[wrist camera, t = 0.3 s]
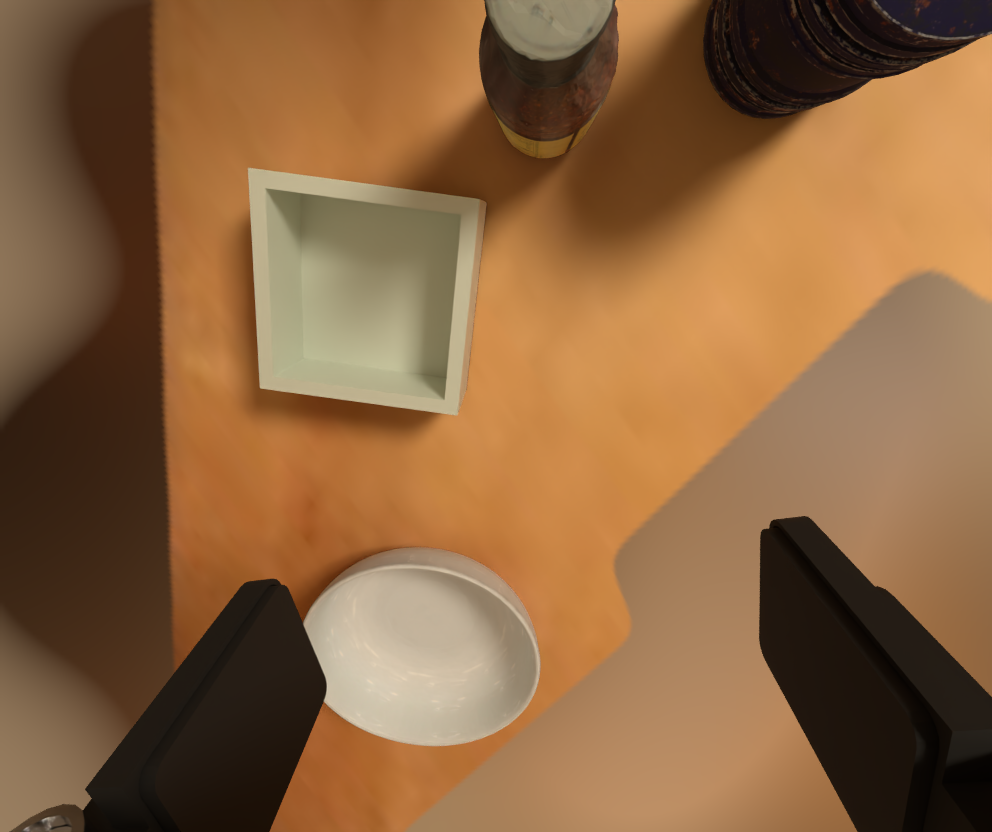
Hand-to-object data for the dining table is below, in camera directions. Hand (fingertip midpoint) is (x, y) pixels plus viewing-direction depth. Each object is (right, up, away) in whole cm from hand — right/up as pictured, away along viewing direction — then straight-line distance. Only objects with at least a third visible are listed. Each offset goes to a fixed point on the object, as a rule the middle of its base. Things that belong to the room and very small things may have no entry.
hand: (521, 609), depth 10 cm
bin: (-9, +13, +28) cm, 32 cm away
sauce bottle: (+3, +24, +23) cm, 33 cm away
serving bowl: (-7, -15, +39) cm, 42 cm away
